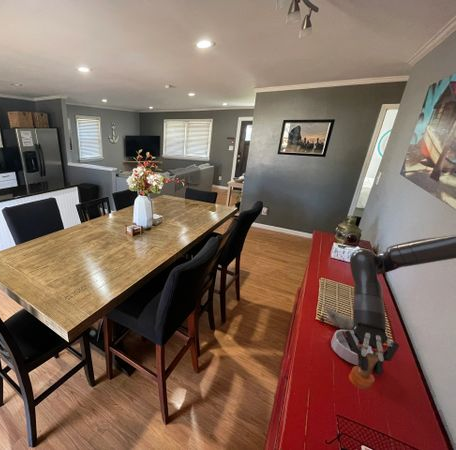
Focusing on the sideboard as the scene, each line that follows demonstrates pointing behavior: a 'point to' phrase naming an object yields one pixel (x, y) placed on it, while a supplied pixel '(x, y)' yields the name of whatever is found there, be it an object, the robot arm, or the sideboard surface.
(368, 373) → the brush
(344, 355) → the bowl
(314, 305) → the sideboard surface
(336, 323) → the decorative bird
